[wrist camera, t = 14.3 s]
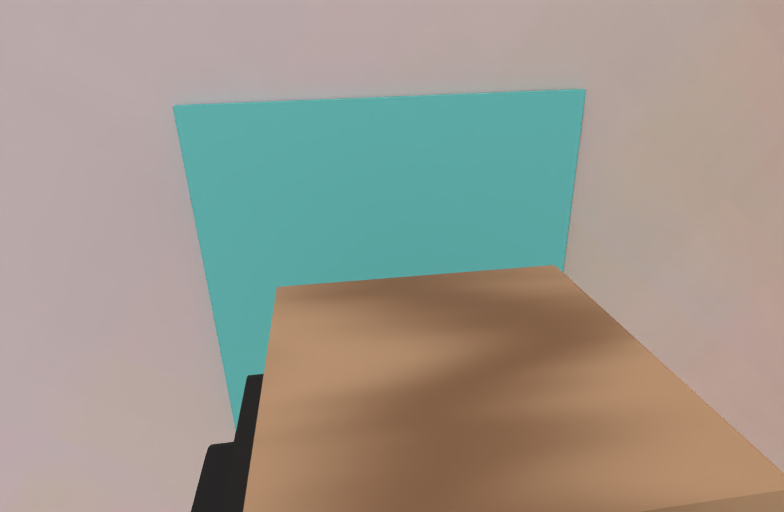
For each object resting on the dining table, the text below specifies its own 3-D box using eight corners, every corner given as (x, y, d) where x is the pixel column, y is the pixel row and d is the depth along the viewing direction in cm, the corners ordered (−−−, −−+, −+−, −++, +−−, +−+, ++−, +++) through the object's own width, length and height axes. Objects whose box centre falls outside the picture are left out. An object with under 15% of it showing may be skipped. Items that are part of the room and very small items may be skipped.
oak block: (554, 265, 11) (799, 487, 5) (529, 468, 13) (681, 766, 8) (276, 286, 10) (233, 573, 5) (302, 498, 12) (294, 853, 7)
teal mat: (581, 89, 15) (585, 89, 15) (543, 400, 20) (546, 405, 20) (175, 105, 14) (172, 106, 14) (239, 435, 19) (238, 441, 18)
